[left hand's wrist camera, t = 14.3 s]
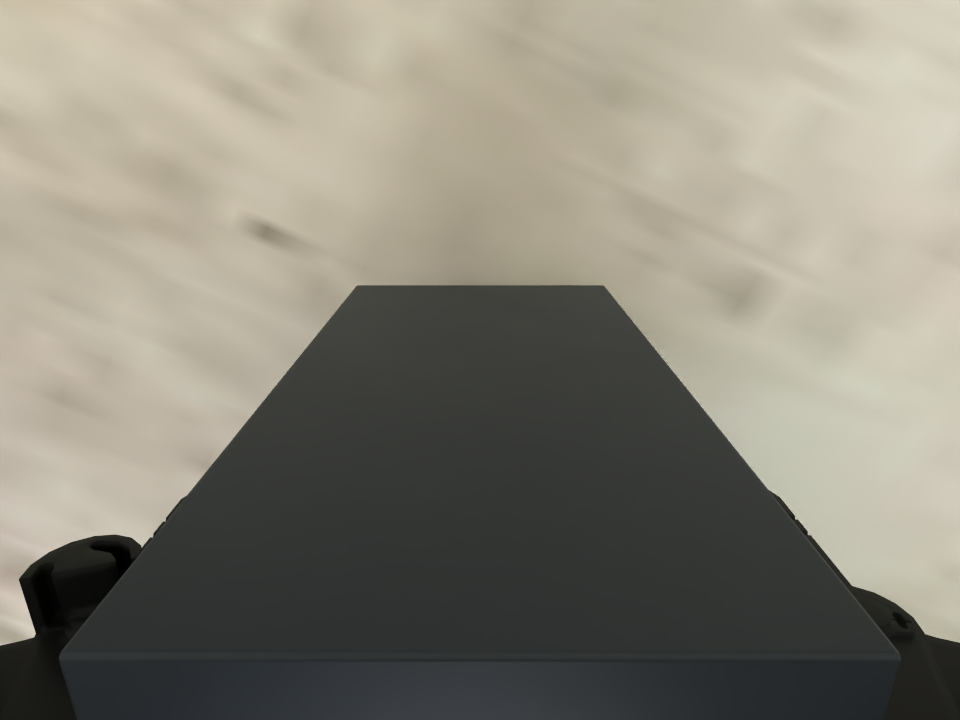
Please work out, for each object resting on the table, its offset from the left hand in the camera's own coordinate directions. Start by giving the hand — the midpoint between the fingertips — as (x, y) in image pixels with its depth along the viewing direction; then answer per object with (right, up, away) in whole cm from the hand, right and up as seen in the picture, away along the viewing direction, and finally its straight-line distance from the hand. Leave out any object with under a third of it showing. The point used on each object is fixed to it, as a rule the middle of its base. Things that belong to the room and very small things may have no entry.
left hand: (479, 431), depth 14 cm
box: (0, -6, +5) cm, 8 cm away
